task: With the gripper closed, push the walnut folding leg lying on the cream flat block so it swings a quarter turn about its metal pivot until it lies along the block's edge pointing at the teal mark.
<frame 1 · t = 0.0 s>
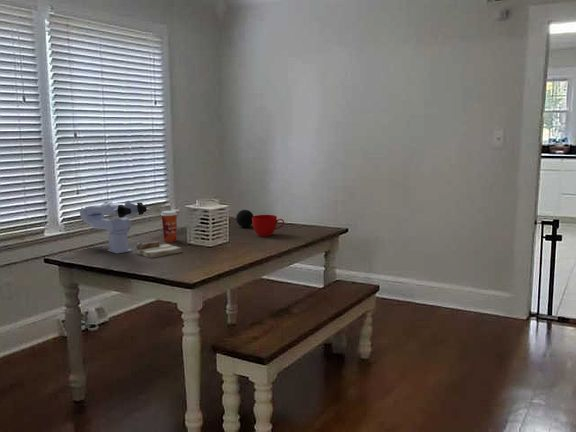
hand: (138, 210, 266), 22 cm above the table, tool horizontal, fingers open, 7 cm apart
decorative ball: (245, 227, 341), on the table
cream flat block: (158, 252, 279), on the table
coffee cup: (170, 241, 307), on the table
folding leg: (147, 244, 281), point 4 cm above the table, hinge at 90.0°
ceramic cup: (268, 235, 316), on the table
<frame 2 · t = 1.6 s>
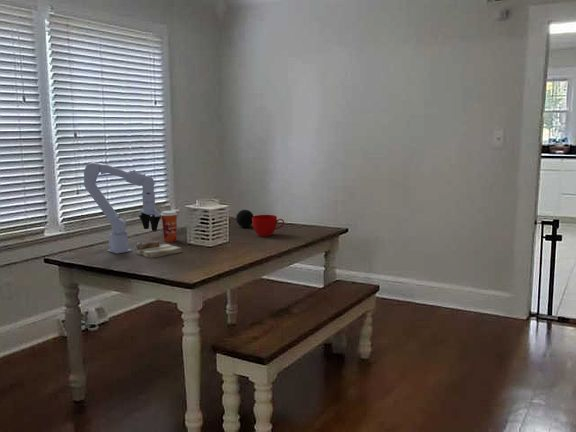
hand: (150, 229, 285), 9 cm above the table, tool pointing down, fingers open, 7 cm apart
nothing on the table moved.
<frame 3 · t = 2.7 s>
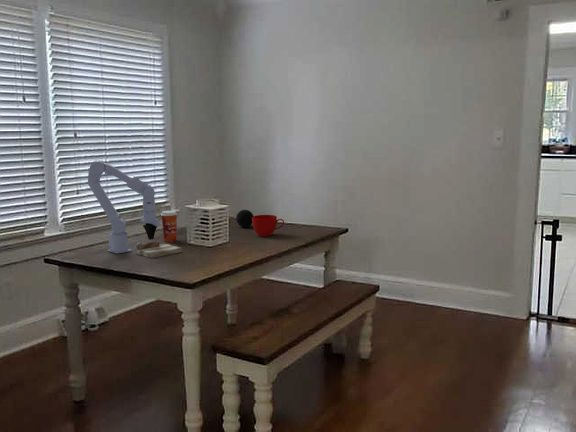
hand: (151, 239, 286), 5 cm above the table, tool pointing down, fingers closed
nothing on the table moved.
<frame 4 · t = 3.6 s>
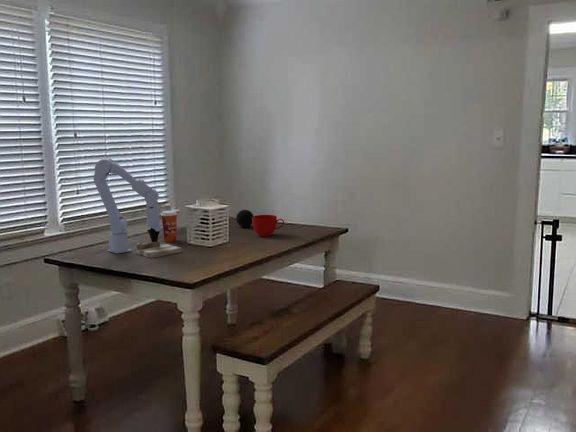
hand: (154, 244, 284), 3 cm above the table, tool pointing down, fingers closed, pressing on folding leg
folding leg: (148, 244, 280), point 4 cm above the table, hinge at 86.1°, touching gripper
everything else where it was.
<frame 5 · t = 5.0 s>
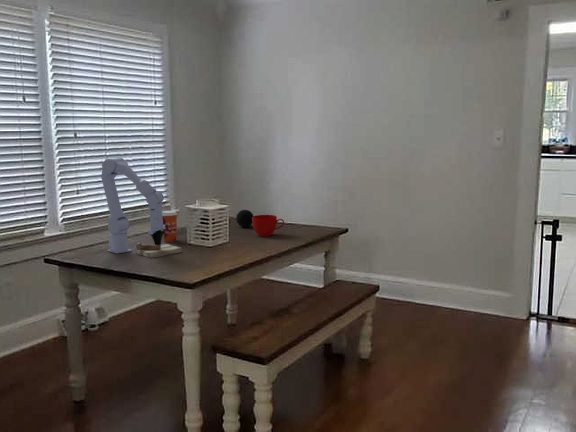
hand: (157, 246, 278), 3 cm above the table, tool pointing down, fingers closed, pressing on folding leg
folding leg: (148, 246, 277), point 4 cm above the table, hinge at 36.9°, touching gripper
everything else where it was.
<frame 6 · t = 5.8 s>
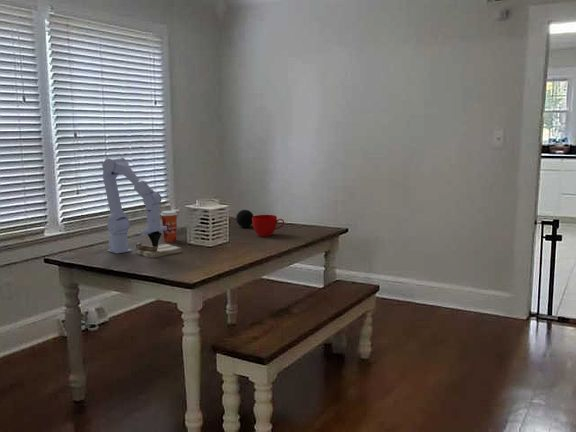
hand: (155, 248, 275), 3 cm above the table, tool pointing down, fingers closed, pressing on folding leg
folding leg: (146, 247, 276), point 4 cm above the table, hinge at 16.2°, touching gripper
everything else where it was.
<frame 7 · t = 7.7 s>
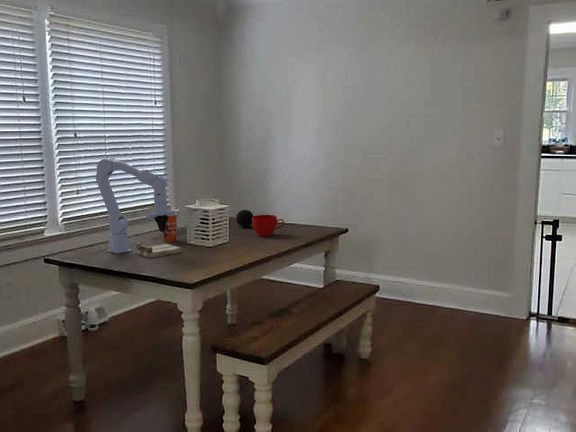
hand: (161, 231, 281), 9 cm above the table, tool pointing down, fingers closed
folding leg: (144, 247, 275), point 4 cm above the table, hinge at -0.5°
everything else where it was.
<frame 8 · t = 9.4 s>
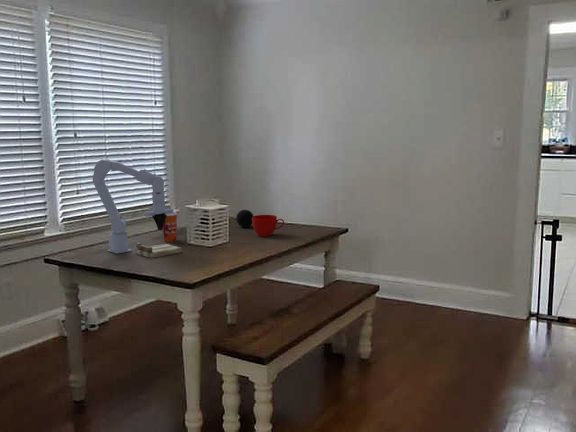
hand: (160, 229, 286), 9 cm above the table, tool pointing down, fingers closed
nothing on the table moved.
at the end: folding leg at +0° (first picture: +90°); coffee cup moved 0.2 cm from its start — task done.
